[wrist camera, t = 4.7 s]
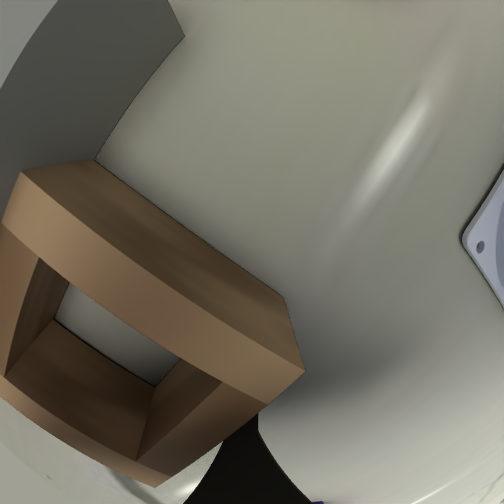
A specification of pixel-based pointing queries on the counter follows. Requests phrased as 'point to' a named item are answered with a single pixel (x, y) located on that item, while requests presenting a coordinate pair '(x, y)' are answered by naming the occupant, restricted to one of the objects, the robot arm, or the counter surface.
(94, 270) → the socket block
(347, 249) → the counter surface
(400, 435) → the counter surface
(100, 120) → the wall
